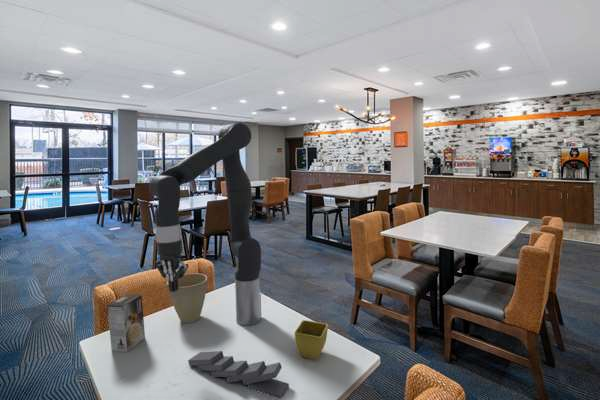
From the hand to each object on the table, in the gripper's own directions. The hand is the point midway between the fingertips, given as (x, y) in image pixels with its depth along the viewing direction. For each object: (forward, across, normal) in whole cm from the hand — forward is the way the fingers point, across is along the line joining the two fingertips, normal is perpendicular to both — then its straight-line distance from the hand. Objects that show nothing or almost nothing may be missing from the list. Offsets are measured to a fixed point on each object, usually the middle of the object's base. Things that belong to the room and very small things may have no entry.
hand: (173, 290), depth 108 cm
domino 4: (+20, -25, +4) cm, 32 cm away
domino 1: (+20, -10, +3) cm, 22 cm away
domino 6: (+20, -32, +3) cm, 38 cm away
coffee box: (+20, +18, +5) cm, 28 cm away
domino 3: (+20, -19, +4) cm, 28 cm away
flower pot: (+22, -41, -16) cm, 49 cm away
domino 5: (+20, -30, +3) cm, 36 cm away
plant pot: (+21, +13, -18) cm, 30 cm away
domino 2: (+20, -14, +3) cm, 25 cm away
